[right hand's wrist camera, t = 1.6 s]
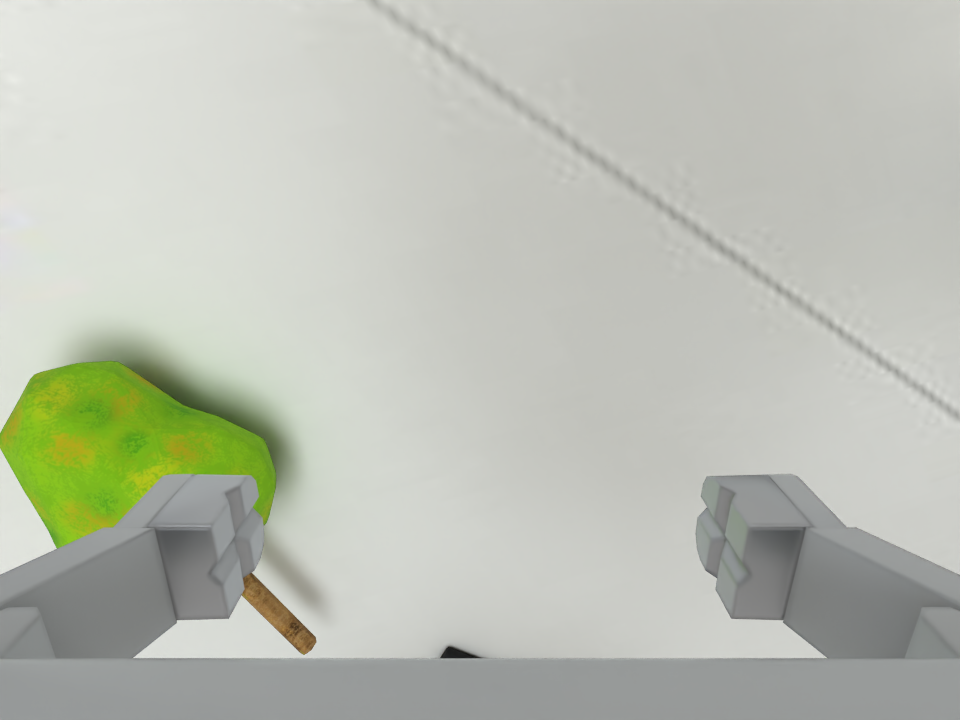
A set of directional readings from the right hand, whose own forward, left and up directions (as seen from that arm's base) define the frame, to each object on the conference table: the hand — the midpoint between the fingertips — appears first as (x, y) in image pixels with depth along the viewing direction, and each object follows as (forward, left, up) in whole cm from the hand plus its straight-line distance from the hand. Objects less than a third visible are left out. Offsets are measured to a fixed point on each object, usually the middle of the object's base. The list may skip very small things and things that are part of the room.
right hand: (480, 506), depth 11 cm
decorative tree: (+31, -3, -33) cm, 46 cm away
